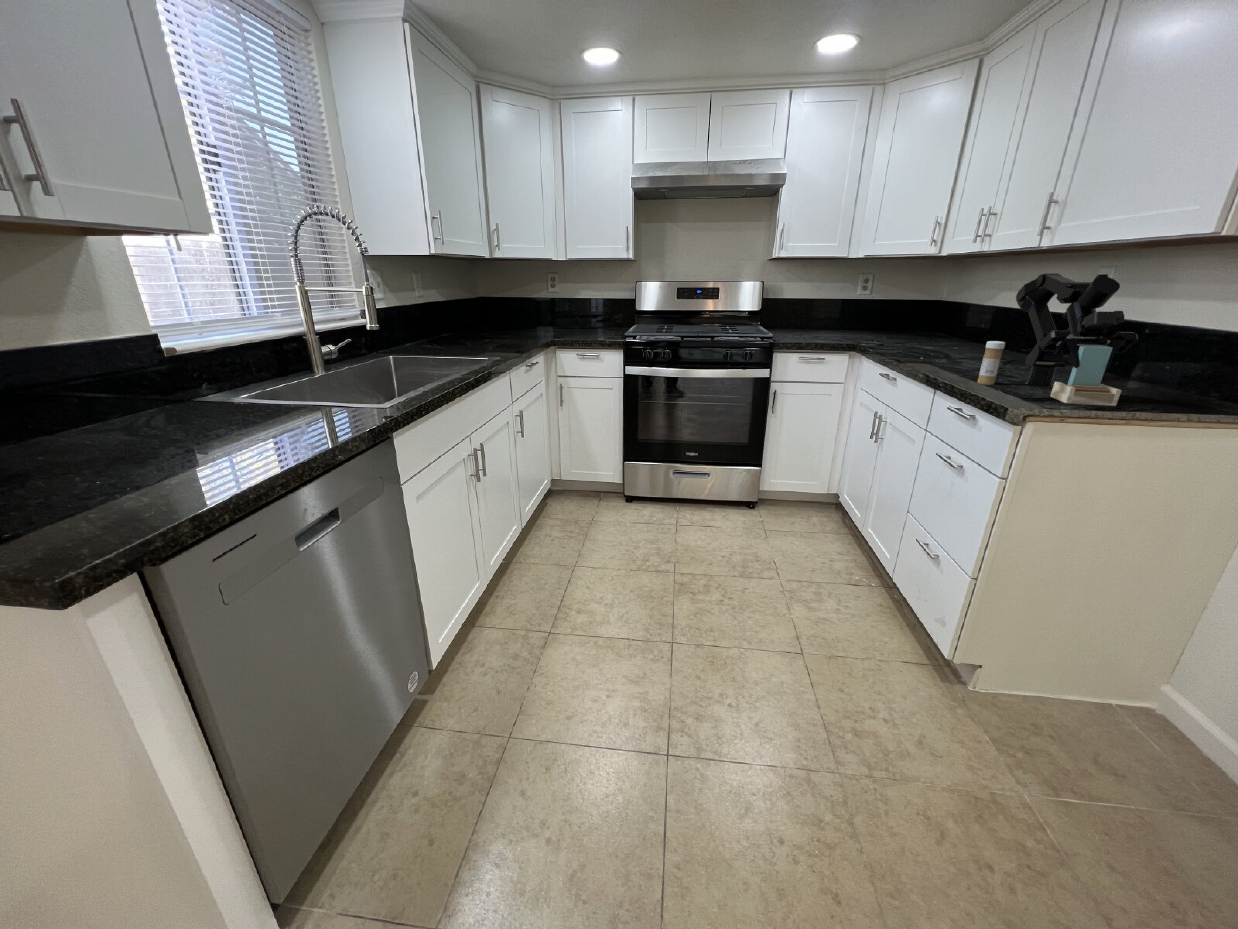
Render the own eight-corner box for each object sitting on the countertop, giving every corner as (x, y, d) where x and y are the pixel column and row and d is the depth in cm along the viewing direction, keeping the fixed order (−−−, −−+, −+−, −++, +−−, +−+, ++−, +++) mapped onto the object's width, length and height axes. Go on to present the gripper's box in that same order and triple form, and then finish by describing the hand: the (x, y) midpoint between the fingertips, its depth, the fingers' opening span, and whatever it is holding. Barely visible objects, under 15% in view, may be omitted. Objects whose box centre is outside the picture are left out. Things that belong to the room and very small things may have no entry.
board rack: (1049, 398, 136) (1054, 381, 134) (1095, 401, 133) (1102, 383, 132) (1065, 405, 129) (1071, 387, 127) (1114, 408, 126) (1121, 390, 124)
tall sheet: (1065, 389, 133) (1080, 345, 129) (1092, 390, 131) (1108, 346, 127) (1069, 390, 131) (1084, 346, 127) (1097, 391, 130) (1112, 347, 125)
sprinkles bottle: (995, 385, 153) (1007, 341, 148) (991, 387, 150) (1003, 342, 145) (977, 383, 156) (989, 340, 151) (974, 385, 153) (985, 341, 148)
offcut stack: (1064, 399, 132) (1069, 384, 131) (1098, 401, 130) (1103, 386, 128) (1070, 402, 129) (1075, 387, 128) (1105, 404, 127) (1110, 388, 126)
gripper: (1059, 298, 129) (1068, 347, 123) (1147, 299, 124) (1161, 349, 118) (1036, 327, 139) (1043, 372, 133) (1117, 328, 134) (1128, 376, 128)
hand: (1092, 367), depth 128 cm, fingers closed on tall sheet, 6 cm apart
